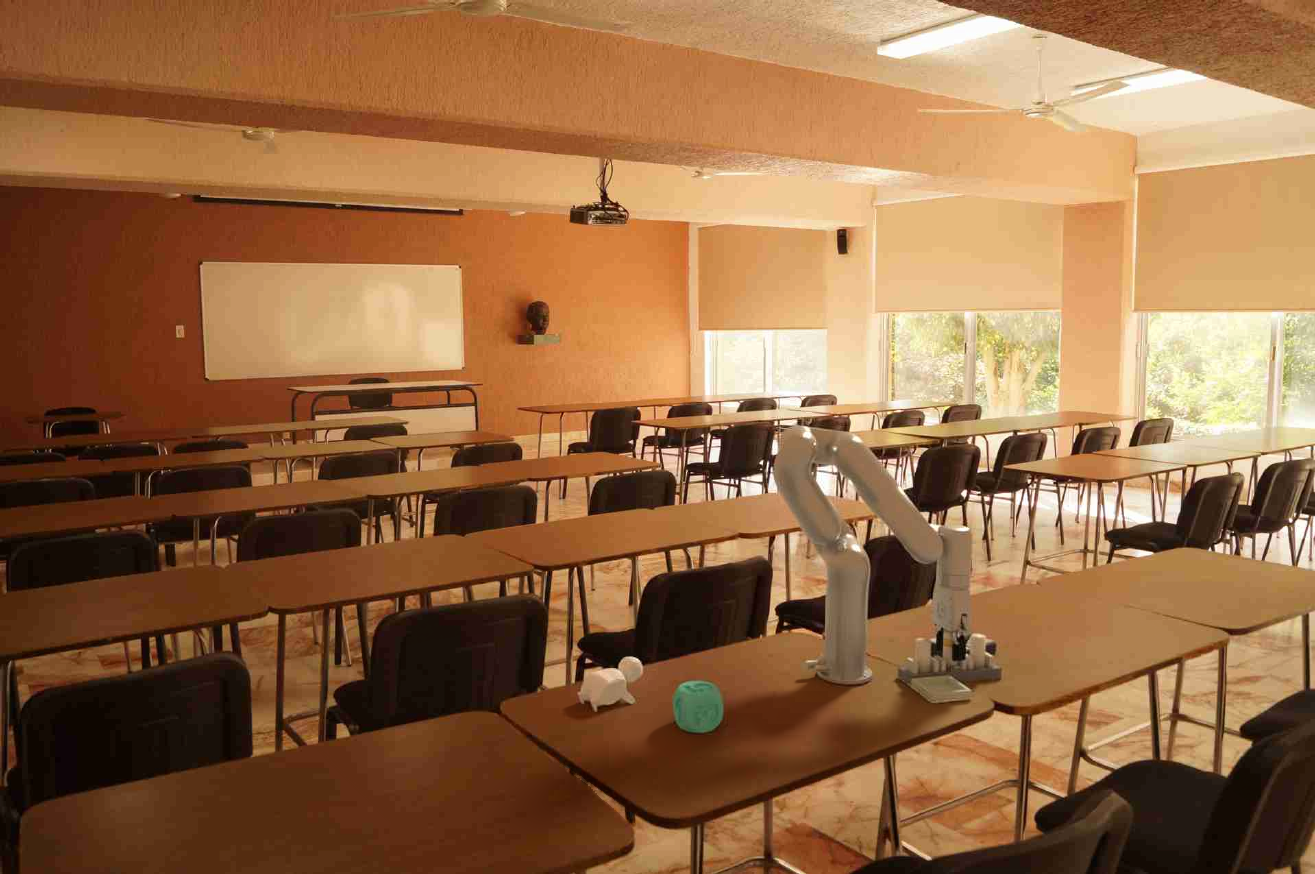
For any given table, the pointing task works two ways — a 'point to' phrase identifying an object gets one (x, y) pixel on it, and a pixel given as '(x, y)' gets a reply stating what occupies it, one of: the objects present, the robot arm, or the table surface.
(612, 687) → the white animal figurine
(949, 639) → the fuse
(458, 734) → the table surface
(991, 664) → the holder
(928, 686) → the tray
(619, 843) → the table surface
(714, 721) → the decorative dice
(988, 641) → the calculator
